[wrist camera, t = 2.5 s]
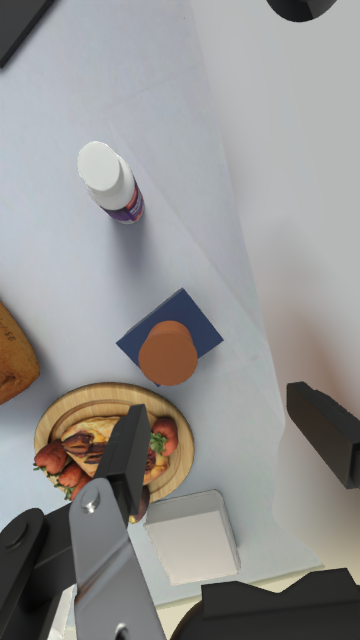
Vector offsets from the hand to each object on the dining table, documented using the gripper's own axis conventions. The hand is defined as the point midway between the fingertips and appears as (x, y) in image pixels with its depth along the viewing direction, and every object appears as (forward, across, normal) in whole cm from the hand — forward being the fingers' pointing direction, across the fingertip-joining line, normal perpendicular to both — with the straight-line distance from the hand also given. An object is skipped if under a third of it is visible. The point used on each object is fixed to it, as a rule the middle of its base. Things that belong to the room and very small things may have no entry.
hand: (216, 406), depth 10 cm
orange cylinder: (+15, +4, +2) cm, 16 cm away
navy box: (+21, +4, +2) cm, 22 cm away
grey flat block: (+22, +6, +55) cm, 60 cm away
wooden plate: (+22, +19, +26) cm, 38 cm away
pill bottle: (+22, +7, -18) cm, 29 cm away
